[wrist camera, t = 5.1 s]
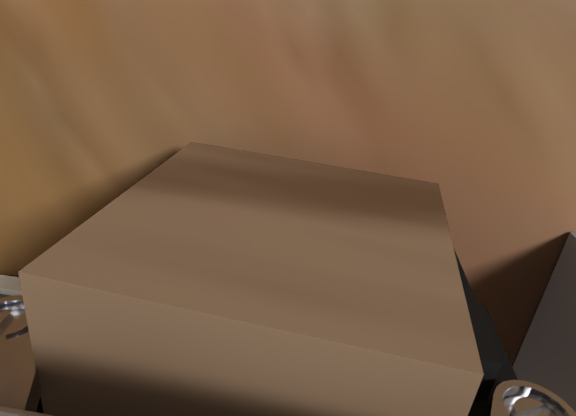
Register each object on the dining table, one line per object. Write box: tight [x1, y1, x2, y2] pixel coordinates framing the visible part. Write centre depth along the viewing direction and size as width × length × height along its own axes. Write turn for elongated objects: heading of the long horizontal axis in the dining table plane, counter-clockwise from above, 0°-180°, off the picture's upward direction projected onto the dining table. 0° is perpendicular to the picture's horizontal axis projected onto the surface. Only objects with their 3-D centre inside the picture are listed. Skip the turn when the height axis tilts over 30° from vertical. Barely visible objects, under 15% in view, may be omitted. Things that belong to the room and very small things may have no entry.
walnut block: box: [18, 142, 484, 416], centre depth 9 cm, size 6×6×6 cm
